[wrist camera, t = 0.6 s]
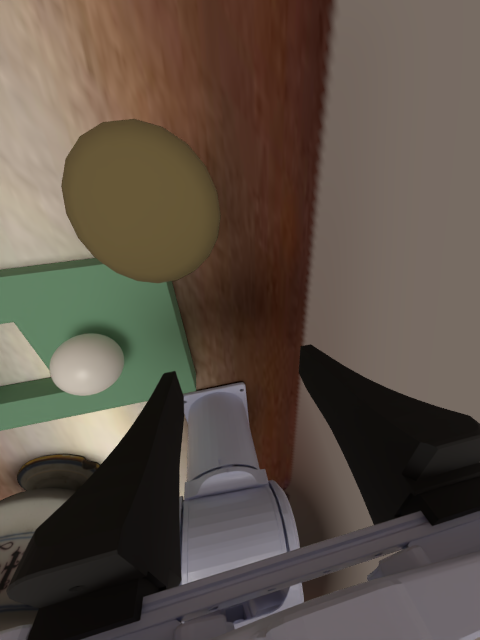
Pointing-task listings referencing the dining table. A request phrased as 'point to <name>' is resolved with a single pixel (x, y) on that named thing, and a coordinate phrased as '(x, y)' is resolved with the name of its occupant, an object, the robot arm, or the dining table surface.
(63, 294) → the green
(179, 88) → the dining table surface
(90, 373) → the egg
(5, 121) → the dining table surface
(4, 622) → the apothecary jar
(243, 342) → the dining table surface
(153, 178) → the cork
